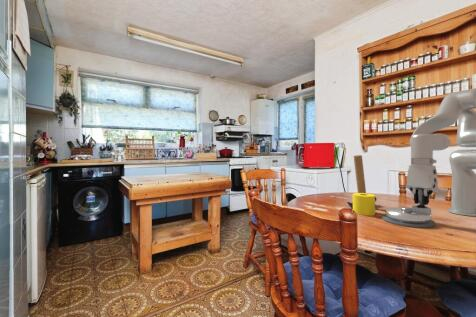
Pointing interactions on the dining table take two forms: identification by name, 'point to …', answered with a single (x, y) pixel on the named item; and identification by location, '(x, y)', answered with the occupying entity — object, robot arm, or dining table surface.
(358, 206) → the tape roll
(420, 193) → the steel pin
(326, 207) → the dining table surface
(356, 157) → the hammer
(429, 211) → the grey pot lid
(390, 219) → the base
